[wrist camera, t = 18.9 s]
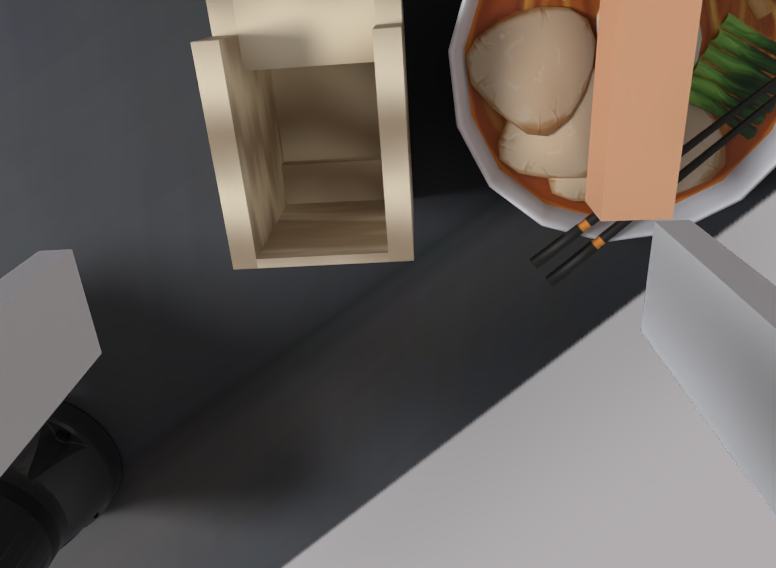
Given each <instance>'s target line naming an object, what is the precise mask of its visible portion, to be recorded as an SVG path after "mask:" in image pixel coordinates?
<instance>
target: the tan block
mask: <svg viewBox="0 0 776 568" xmlns="http://www.w3.org/2000/svg"><path fill="white" fill-rule="evenodd" d="M701 8H702V0H600V9H599V22H598V35H597V48H596V62H595V75H594V88H593V101H592V115H591V128H590V141H589V155H588V168H587V181H586V194H585V202H586V203H587V204H588V206H589V207H590V208H591V209H592V211H593V212H594V213H595V214H596V216H597V217H598V218H599V219H600V221H628V220H657V219H673V213H674V206H675V199H676V191H677V184H678V177H679V169H680V162H681V155H682V147H683V140H684V133H685V125H686V118H687V110H688V103H689V96H690V88H691V81H692V74H693V66H694V59H695V52H696V44H697V37H698V30H699V22H700V15H701Z"/></svg>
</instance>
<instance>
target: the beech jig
mask: <svg viewBox="0 0 776 568" xmlns="http://www.w3.org/2000/svg"><path fill="white" fill-rule="evenodd" d="M206 3H207V9H208V15H209V20H210V26H211V32H212V37H208V38H204V39H201V40H197V41H193V42H190V43H191V48H192V53H193V58H194V64H195V69H196V74H197V79H198V85H199V90H200V95H201V100H202V106H203V111H204V116H205V122H206V127H207V132H208V137H209V143H210V148H211V153H212V158H213V164H214V169H215V174H216V179H217V185H218V190H219V195H220V200H221V206H222V211H223V216H224V221H225V227H226V232H227V237H228V242H229V248H230V253H231V258H232V263H233V269H253V268H274V267H294V266H314V265H334V264H355V263H375V262H395V261H414V219H413V184H412V165H411V146H410V127H409V108H408V89H407V71H406V52H405V33H404V14H403V0H206Z"/></svg>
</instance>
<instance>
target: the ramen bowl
mask: <svg viewBox="0 0 776 568" xmlns="http://www.w3.org/2000/svg"><path fill="white" fill-rule="evenodd" d="M599 9H600V0H462V3H461V7H460V10H459V14H458V17H457V21H456V24H455V28H454V32H453V35H452V39H451V42H450V46H449V50H448V54H449V63H450V71H451V80H452V89H453V98H454V107H455V116H456V125H457V128H458V130H459V132H460V133H461V135H462V137H463V139H464V141H465V143H466V145H467V146H468V148H469V150H470V152H471V154H472V156H473V158H474V159H475V161H476V163H477V165H478V167H479V169H480V170H481V172H482V174H483V176H484V178H485V180H486V182H487V183H488V185H489V187H490V188H492V189H493V190H494V191H496V192H497V193H498V194H500V195H501V196H502V197H504V198H505V199H506V200H508V201H509V202H510V203H512V204H513V205H514V206H516V207H517V208H518V209H520V210H521V211H523V212H524V213H525V214H527V215H528V216H529V217H531V218H532V219H533V220H535V221H536V222H537V223H539V224H540V225H541V226H545V227H549V228H553V229H557V230H560V231H564V232H566V233H564V234H563V235H561V236H560V237H559V238H557V239H556V240H555V241H553V242H552V243H551V244H549V245H548V246H547V247H545V248H544V249H543V250H541V251H540V252H539V253H537V254H536V255H535V256H533V257H532V258H530V260H531V262H532V263H533V265H534V266H535V267H536V268H537V269H538V268H539V267H540V266H541V265H543V264H544V263H545V262H547V261H548V260H549V259H550V258H552V257H553V256H554V255H556V254H557V253H558V252H560V251H561V250H562V249H563V248H565V247H566V246H567V245H569V244H570V243H571V242H572V241H574V240H575V239H576V238H578V237H579V236H584V237H588V238H592V239H594V240H592V241H590V242H589V243H588V244H587V245H585V246H584V247H583V248H582V249H580V250H579V251H578V252H577V253H575V254H574V255H573V256H572V257H570V258H569V259H568V260H567V261H565V262H564V263H563V264H561V265H560V266H559V267H558V268H556V269H555V270H554V271H553V272H551V273H550V274H549V275H548V276H546V278H547V280H548V282H549V283H550V284H551V285H552V286H553V287H554V286H555V285H556V284H557V283H558V282H560V281H561V280H562V279H563V278H564V277H566V276H567V275H568V274H569V273H570V272H572V271H573V270H574V269H575V268H577V267H578V266H579V265H580V264H581V263H583V262H584V261H585V260H586V259H587V258H589V257H590V256H591V255H592V254H593V253H595V252H596V251H597V250H598V249H599V248H600V247H601V246H602V245H604V244H606V243H607V242H609V241H616V240H624V239H631V238H639V237H646V236H653V230H654V222H655V221H672V220H691V221H692V222H694V223H696V222H698V221H700V220H702V219H704V218H706V217H708V216H710V215H712V214H714V213H716V212H718V211H720V210H722V209H725V208H727V207H729V206H731V205H733V204H735V203H737V202H739V201H741V200H742V199H744V198H745V197H746V196H747V195H748V194H749V193H750V192H751V191H752V190H753V189H754V188H755V187H756V186H757V185H758V184H759V183H760V182H761V181H762V180H763V179H764V178H765V177H766V176H767V175H768V174H769V173H770V172H771V171H772V170H773V169H774V168H775V167H776V0H702V8H701V15H700V22H699V30H698V37H697V44H696V52H695V59H694V66H693V74H692V81H691V88H690V96H689V103H688V110H687V118H686V125H685V133H684V140H683V147H682V155H681V162H680V169H679V177H678V184H677V191H676V199H675V206H674V213H673V219H657V220H628V221H600V219H599V218H598V217H597V216H596V214H595V213H594V212H593V211H592V209H591V208H590V207H589V206H588V204H587V203H586V202H585V194H586V181H587V168H588V155H589V141H590V128H591V115H592V101H593V88H594V75H595V62H596V48H597V35H598V22H599Z"/></svg>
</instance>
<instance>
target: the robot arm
mask: <svg viewBox="0 0 776 568" xmlns="http://www.w3.org/2000/svg"><path fill="white" fill-rule="evenodd" d="M641 332H642V333H643V334H644V336H645V337H646V339H647V340H648V342H649V343H650V344H651V346H652V347H653V348H654V350H655V351H656V353H657V354H658V355H659V357H660V358H661V359H662V361H663V362H664V364H665V365H666V366H667V368H668V369H669V371H670V372H671V373H672V375H673V376H674V377H675V379H676V380H677V382H678V383H679V385H680V386H681V387H682V388H683V390H684V391H685V393H686V394H687V396H688V397H689V398H690V400H691V401H692V403H693V404H694V405H695V407H696V408H697V409H698V411H699V412H700V414H701V415H702V416H703V418H704V419H705V421H706V422H707V423H708V425H709V426H710V427H711V429H712V430H713V432H714V433H715V434H716V436H717V437H718V439H719V440H720V441H721V443H722V444H723V445H724V447H725V448H726V450H727V451H728V452H729V454H730V455H731V457H732V458H733V459H734V460H735V462H736V463H737V465H738V466H739V468H740V469H741V470H742V472H743V473H744V475H745V476H746V477H747V479H748V480H749V482H750V483H751V484H752V486H753V487H754V488H755V490H756V491H757V492H758V494H759V495H760V496H761V498H762V500H763V501H764V502H765V504H766V505H767V506H768V508H769V509H770V511H771V512H772V513H773V515H774V516H775V518H776V286H775V285H774V284H772V283H771V282H770V281H768V280H767V279H766V278H764V277H763V276H762V275H761V274H759V273H758V272H757V271H756V270H754V269H753V268H752V267H750V266H749V265H748V264H746V263H745V262H744V261H743V260H741V259H740V258H739V257H737V256H736V255H735V254H733V253H732V252H731V251H730V250H728V249H727V248H726V247H725V246H723V245H722V244H721V243H719V242H718V241H717V240H715V239H714V238H713V237H712V236H710V235H709V234H708V233H706V232H705V231H704V230H703V229H701V228H700V227H699V226H697V225H696V224H695V223H694V222H692V221H691V220H672V221H655V222H654V230H653V238H652V245H651V253H650V261H649V269H648V276H647V284H646V292H645V299H644V307H643V315H642V323H641ZM101 354H102V352H101V349H100V345H99V342H98V338H97V335H96V331H95V328H94V324H93V321H92V318H91V314H90V311H89V307H88V304H87V300H86V297H85V293H84V290H83V286H82V283H81V279H80V276H79V272H78V269H77V265H76V262H75V258H74V255H73V251H72V249H69V250H48V251H38V252H37V253H35V254H34V255H33V256H31V257H30V258H29V259H27V260H26V261H24V262H23V263H22V264H20V265H19V266H17V267H16V268H15V269H13V270H12V271H11V272H9V273H8V274H6V275H5V276H4V277H2V278H1V279H0V568H48V567H49V565H50V564H51V562H52V560H53V559H54V557H55V556H56V554H57V552H58V551H59V550H60V549H61V548H63V547H64V546H65V545H66V544H67V543H68V542H70V541H71V540H72V539H73V538H74V537H75V536H76V535H77V534H78V533H79V532H80V531H81V530H82V529H83V528H84V527H86V526H88V525H89V524H91V523H92V522H94V521H95V520H96V519H97V518H98V517H99V516H100V515H101V514H102V513H103V512H104V511H105V510H106V508H107V507H108V505H109V504H110V502H111V500H112V498H113V497H114V495H115V493H116V492H117V490H118V488H119V485H120V482H121V478H122V465H121V459H120V456H119V453H118V451H117V448H116V446H115V445H114V443H113V441H112V440H111V438H110V437H109V435H108V434H107V433H106V432H105V431H104V429H103V428H102V427H101V426H100V425H99V424H98V423H96V422H95V421H94V420H93V419H92V418H90V417H89V416H88V415H86V414H85V413H83V412H82V411H80V410H78V409H77V408H75V407H73V406H71V405H69V404H67V403H64V402H62V401H63V400H64V399H65V398H66V396H67V395H68V394H69V393H70V391H71V390H72V389H73V388H74V387H75V385H76V384H77V383H78V382H79V380H80V379H81V378H82V377H83V376H84V374H85V373H86V372H87V371H88V369H89V368H90V367H91V366H92V365H93V363H94V362H95V361H96V360H97V358H98V357H99V356H100V355H101Z"/></svg>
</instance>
